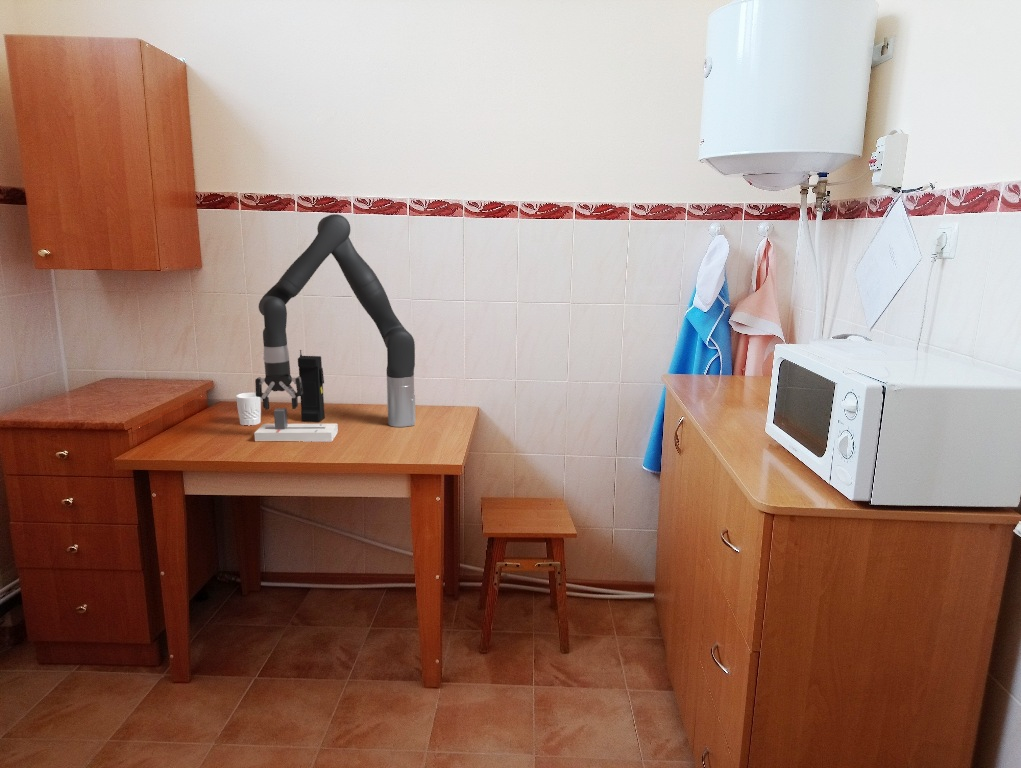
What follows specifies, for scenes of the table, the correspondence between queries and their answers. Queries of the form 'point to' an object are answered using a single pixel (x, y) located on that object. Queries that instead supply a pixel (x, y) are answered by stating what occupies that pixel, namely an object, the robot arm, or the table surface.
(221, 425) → the table surface
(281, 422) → the fader tab
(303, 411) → the portable radio
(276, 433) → the panel
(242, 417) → the white cup
